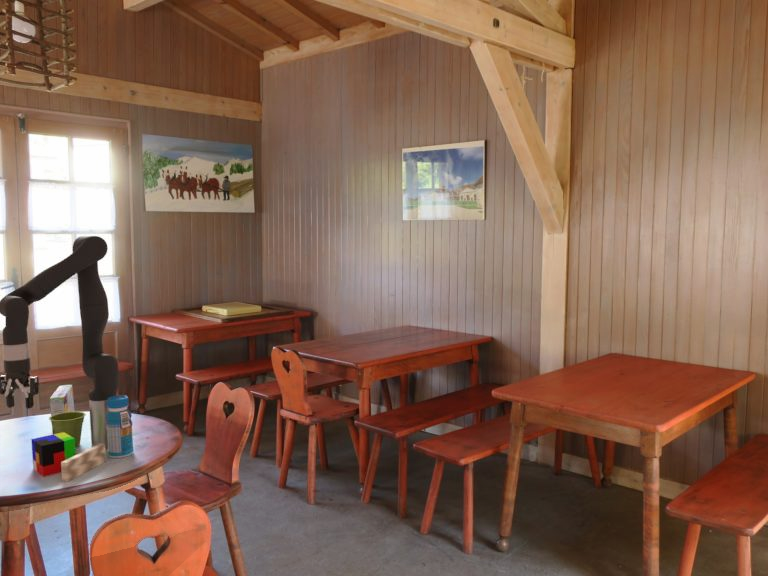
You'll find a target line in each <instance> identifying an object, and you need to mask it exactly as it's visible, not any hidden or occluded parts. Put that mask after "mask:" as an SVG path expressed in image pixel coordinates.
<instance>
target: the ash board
mask: <svg viewBox="0 0 768 576" xmlns="http://www.w3.org/2000/svg"><path fill="white" fill-rule="evenodd" d="M106 458H107V457H106V448H105V444H98V445H96V446H93V447H92V446H91V447H90V448H88V449H85V450H84V451H82V452H79V453H77V454H76V455H75V456H73V457H71V458H69V459H67V460H65V461H63V462H61V471H62V472H61V481H62V482H66V483H67V482H70V481H72V480H74V479H76V478H78V477H79V476H81V475H82V474H85V473H87V472H89V471H91V470H92V469H94V468H96V467H98V466H100V465H102V464H104V463H105V462H107V460H106Z"/></svg>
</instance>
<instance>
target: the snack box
mask: <svg viewBox="0 0 768 576" xmlns="http://www.w3.org/2000/svg"><path fill="white" fill-rule="evenodd" d="M49 408H50V417H51V416H53V415H55V414H59V413H65V412H76V411H75V401H74V389H73V384H63V385H59V386H58V387H57V388H56V390H55V391H53V394H52V395H51V396H50V397H49ZM51 430H52V435H53V434H54V429H53V426H52V425H51Z"/></svg>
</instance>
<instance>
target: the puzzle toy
mask: <svg viewBox="0 0 768 576" xmlns="http://www.w3.org/2000/svg"><path fill="white" fill-rule="evenodd" d="M31 453H32V466H33V467H32V468H33V470H34V471H35V472H36V473H39V475H40V476H42V477H48V476H52V475H56V474H59V473H60V474H61V473H62V471H61V462H63V461H65V460H67V459H69V458H71V457H73V456H75V455H77V454H76V453H77V452H76V448H75V438H73V437H71V436H70V435H68V434H66V433H65V432H62V433H58V434H53V433H52V434H49V435H44V436H40V437H36V438H35V437H34V438H31Z"/></svg>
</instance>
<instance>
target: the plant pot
mask: <svg viewBox="0 0 768 576" xmlns="http://www.w3.org/2000/svg"><path fill="white" fill-rule="evenodd" d="M85 416H86V413H85V412H83V411H75V412H65V413H59V414H55V415H53V416H51V415H50V416H49V417H48V420H49V421H50V423H51V427H52V426H53V429H54V434H58V433H62V432H65V433H66V434H68V435H70V436H71V437H73V438H75V449H76V448H79V446H80V445H81V439H82V431H83V424H84V421H85V420H84V419H85Z"/></svg>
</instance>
